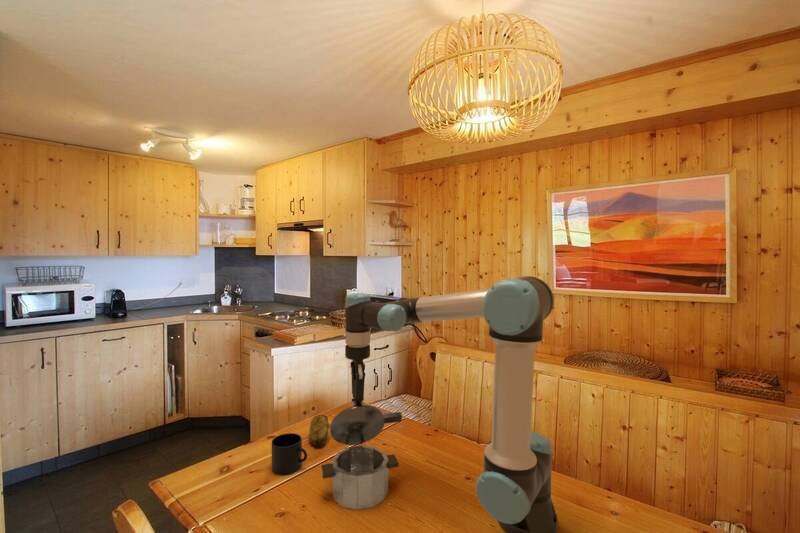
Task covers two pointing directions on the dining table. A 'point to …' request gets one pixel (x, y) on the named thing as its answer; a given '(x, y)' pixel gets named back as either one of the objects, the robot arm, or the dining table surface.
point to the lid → (360, 424)
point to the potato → (319, 430)
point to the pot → (359, 476)
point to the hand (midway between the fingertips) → (357, 420)
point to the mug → (287, 453)
